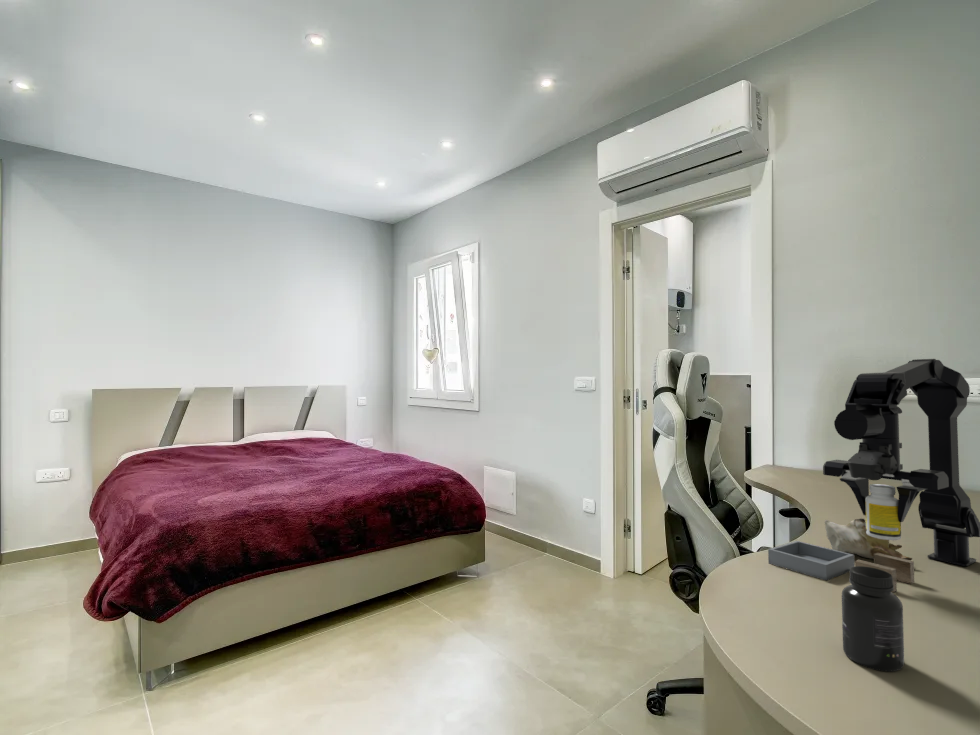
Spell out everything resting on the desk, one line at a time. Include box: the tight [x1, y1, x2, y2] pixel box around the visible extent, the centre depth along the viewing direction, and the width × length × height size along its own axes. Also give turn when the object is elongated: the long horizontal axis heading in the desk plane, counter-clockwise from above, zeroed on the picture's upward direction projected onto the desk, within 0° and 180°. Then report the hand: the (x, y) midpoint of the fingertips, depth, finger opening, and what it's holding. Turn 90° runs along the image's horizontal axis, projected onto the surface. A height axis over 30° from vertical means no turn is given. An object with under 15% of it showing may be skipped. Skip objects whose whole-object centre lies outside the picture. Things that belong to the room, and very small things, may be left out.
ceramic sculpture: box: [824, 518, 913, 561], centre depth 113 cm, size 11×9×15 cm
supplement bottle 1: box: [865, 483, 902, 541], centre depth 98 cm, size 5×5×10 cm
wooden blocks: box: [854, 553, 915, 594], centre depth 98 cm, size 9×6×4 cm, turn 121°
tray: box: [767, 540, 855, 581], centre depth 107 cm, size 11×11×3 cm
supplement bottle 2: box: [841, 566, 905, 673], centre depth 70 cm, size 7×7×12 cm
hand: (882, 518), depth 98 cm, fingers closed on supplement bottle 1, 5 cm apart
